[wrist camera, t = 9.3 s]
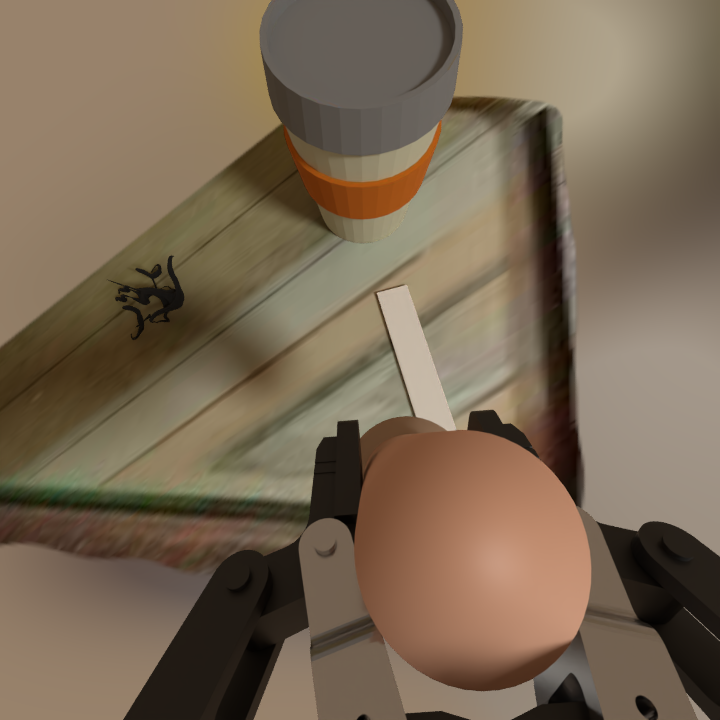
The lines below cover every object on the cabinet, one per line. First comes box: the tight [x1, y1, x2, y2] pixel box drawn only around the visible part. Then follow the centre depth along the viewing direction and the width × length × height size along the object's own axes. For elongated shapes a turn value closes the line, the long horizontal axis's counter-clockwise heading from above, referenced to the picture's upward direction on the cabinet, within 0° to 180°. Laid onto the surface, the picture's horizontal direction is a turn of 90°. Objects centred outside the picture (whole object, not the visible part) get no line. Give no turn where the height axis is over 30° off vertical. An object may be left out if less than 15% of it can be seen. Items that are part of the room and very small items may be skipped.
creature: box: [108, 256, 184, 340], centre depth 29 cm, size 8×5×8 cm
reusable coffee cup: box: [260, 0, 463, 243], centre depth 26 cm, size 13×12×15 cm
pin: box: [354, 416, 591, 691], centre depth 10 cm, size 6×6×10 cm
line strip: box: [377, 285, 456, 431], centre depth 29 cm, size 3×20×1 cm, turn 16°
